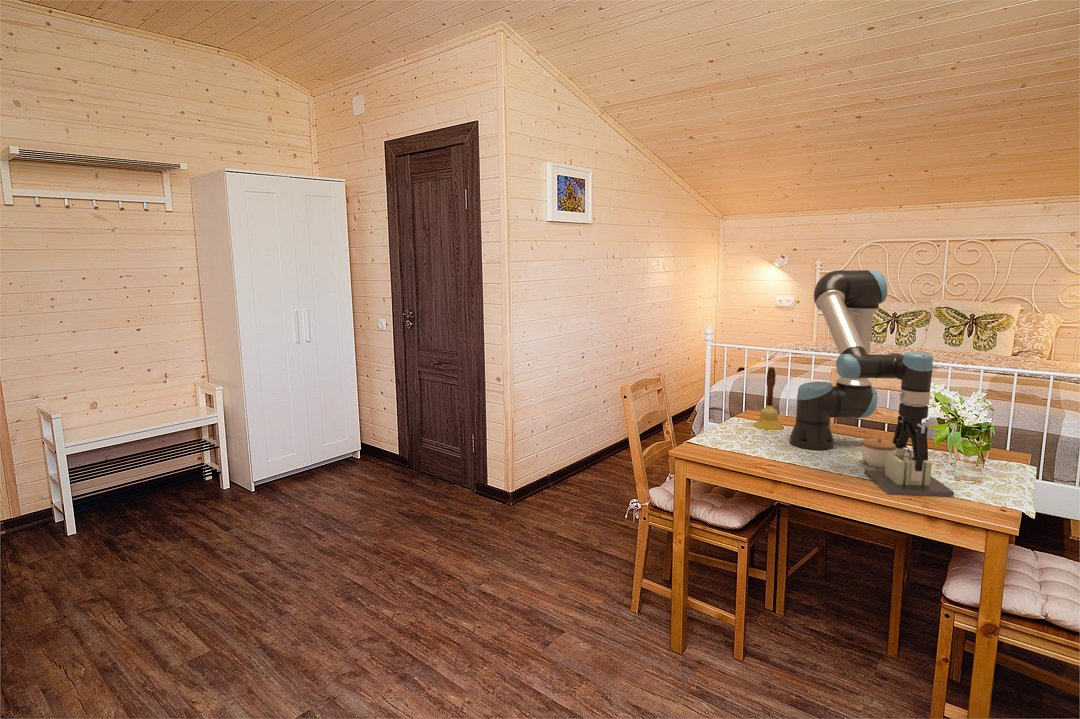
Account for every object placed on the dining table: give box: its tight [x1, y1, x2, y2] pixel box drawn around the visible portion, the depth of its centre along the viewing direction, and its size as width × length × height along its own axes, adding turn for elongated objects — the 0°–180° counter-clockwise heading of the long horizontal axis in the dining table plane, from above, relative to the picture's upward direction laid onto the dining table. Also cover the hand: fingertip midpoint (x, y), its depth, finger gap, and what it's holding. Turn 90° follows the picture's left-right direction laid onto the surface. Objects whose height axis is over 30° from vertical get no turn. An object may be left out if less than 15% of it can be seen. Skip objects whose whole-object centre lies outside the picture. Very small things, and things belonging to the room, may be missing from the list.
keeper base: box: [863, 449, 955, 498], centre depth 188 cm, size 18×18×11 cm
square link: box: [884, 453, 933, 486], centre depth 188 cm, size 9×9×7 cm
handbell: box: [752, 366, 785, 431], centre depth 254 cm, size 12×12×25 cm
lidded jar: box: [860, 437, 896, 469], centre depth 207 cm, size 11×11×9 cm
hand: (907, 474), depth 189 cm, fingers open, 10 cm apart
